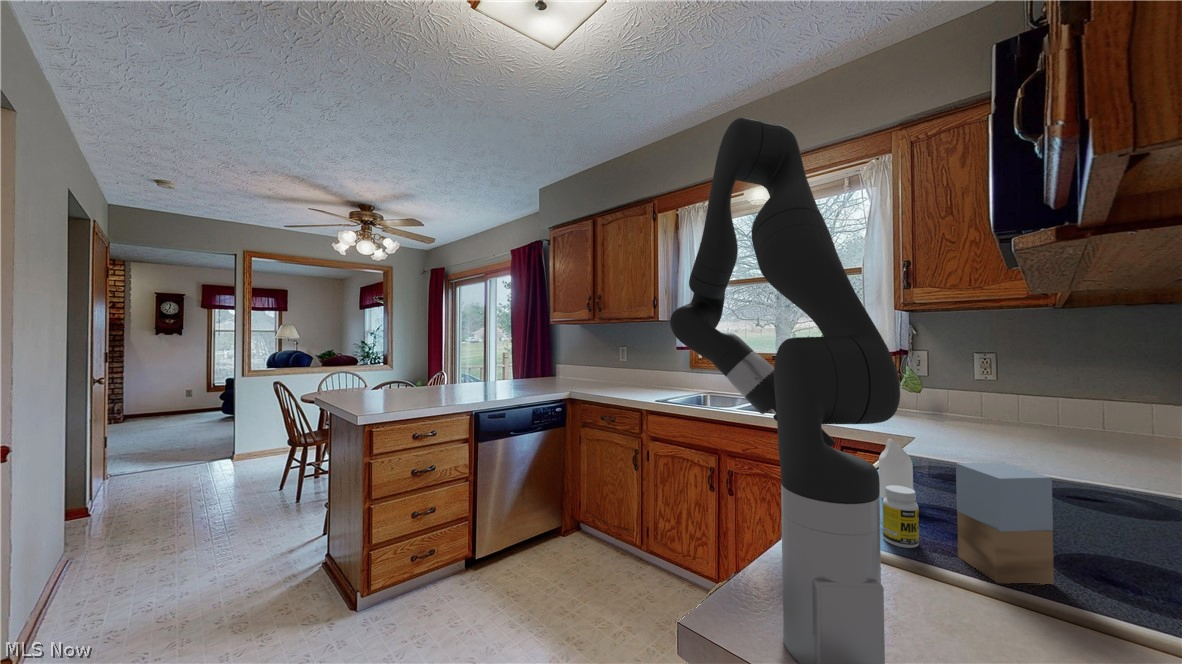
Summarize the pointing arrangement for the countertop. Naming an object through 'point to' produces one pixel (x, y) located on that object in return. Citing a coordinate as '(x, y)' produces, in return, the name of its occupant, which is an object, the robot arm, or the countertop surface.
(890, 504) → the supplement bottle
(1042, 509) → the slate block
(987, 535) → the walnut block
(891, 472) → the white bottle
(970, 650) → the countertop surface
